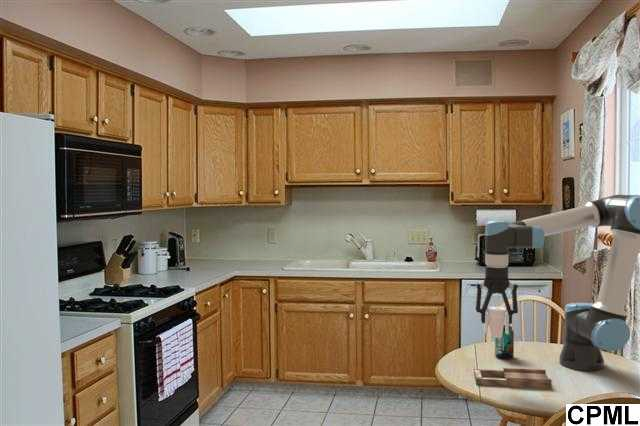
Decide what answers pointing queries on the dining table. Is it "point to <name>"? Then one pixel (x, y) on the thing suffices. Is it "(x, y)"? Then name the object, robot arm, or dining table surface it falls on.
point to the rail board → (514, 377)
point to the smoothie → (496, 320)
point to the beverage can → (505, 345)
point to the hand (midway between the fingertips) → (496, 332)
